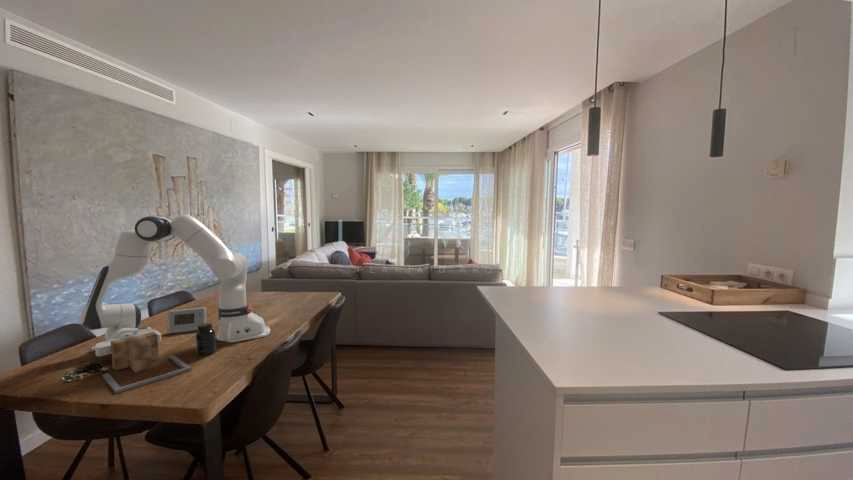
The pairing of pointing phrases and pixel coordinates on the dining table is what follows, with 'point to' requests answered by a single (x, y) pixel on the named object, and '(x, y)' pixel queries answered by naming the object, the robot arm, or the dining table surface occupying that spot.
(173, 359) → the frame
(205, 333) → the supplement bottle
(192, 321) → the digital clock
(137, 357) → the notched wooden block
